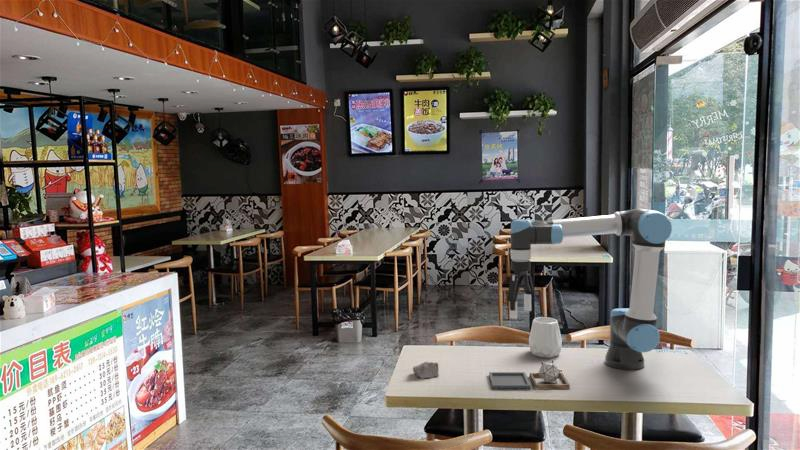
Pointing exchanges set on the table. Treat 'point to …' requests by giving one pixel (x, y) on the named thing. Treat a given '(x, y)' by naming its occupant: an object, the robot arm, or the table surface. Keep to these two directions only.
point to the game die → (549, 372)
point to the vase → (545, 337)
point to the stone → (426, 370)
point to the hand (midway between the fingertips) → (520, 314)
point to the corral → (550, 386)
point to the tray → (509, 380)
